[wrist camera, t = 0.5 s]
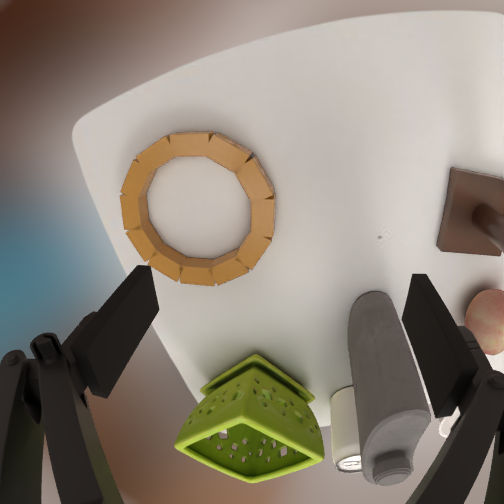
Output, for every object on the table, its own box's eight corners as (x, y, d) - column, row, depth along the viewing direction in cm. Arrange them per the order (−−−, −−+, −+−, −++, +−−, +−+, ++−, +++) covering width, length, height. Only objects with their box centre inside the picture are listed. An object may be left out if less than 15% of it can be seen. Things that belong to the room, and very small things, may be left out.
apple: (476, 333, 36) (497, 372, 29) (445, 314, 36) (467, 355, 29) (511, 291, 33) (539, 325, 26) (483, 267, 32) (513, 302, 25)
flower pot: (193, 378, 46) (168, 447, 34) (257, 334, 40) (241, 414, 29) (260, 422, 49) (250, 487, 37) (327, 387, 43) (329, 461, 32)
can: (371, 407, 44) (379, 470, 34) (331, 412, 46) (332, 477, 35) (372, 381, 42) (383, 450, 31) (328, 387, 43) (331, 457, 32)
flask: (343, 294, 36) (366, 447, 18) (391, 287, 35) (444, 430, 17) (349, 380, 42) (359, 508, 24) (389, 374, 41) (412, 498, 23)
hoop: (124, 135, 31) (114, 138, 29) (277, 132, 30) (276, 134, 28) (139, 269, 38) (132, 278, 36) (272, 280, 37) (270, 290, 35)
